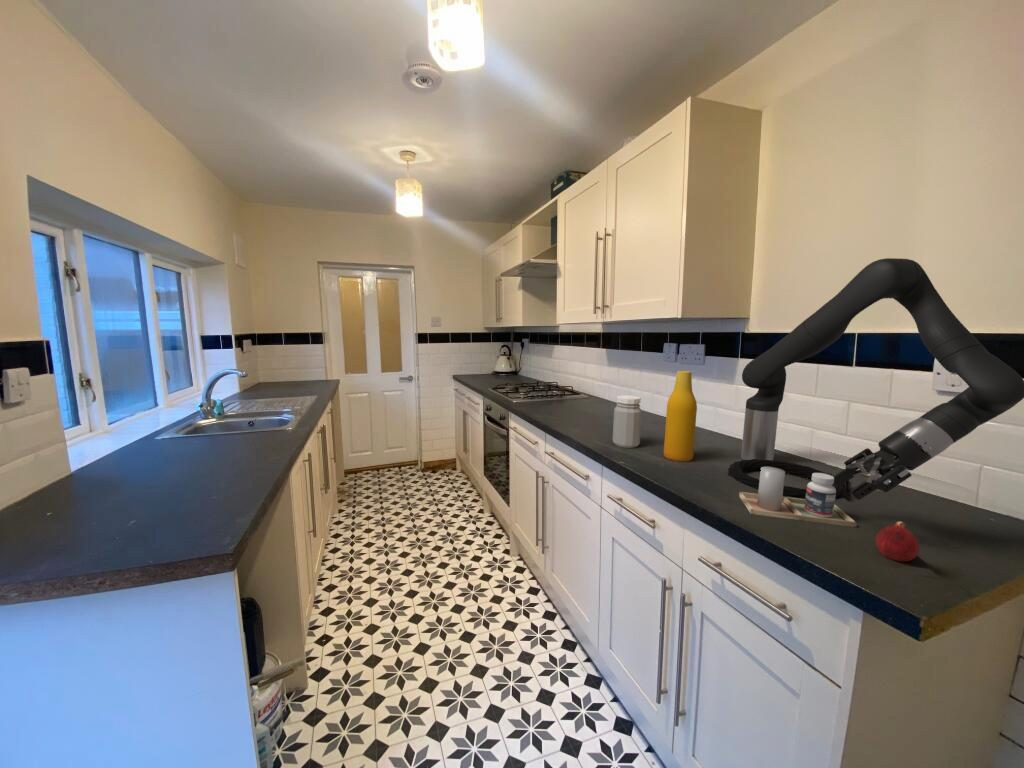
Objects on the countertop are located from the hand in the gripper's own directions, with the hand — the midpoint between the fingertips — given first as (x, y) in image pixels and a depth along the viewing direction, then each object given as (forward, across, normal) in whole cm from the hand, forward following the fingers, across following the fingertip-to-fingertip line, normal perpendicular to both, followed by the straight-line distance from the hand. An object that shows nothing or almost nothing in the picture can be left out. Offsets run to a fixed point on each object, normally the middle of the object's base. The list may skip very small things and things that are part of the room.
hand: (843, 488), depth 91 cm
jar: (+39, -48, -29) cm, 68 cm away
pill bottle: (+8, 0, +2) cm, 8 cm away
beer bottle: (+27, -38, -16) cm, 49 cm away
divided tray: (+12, 0, -1) cm, 12 cm away
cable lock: (+8, -22, +3) cm, 24 cm away
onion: (+4, +17, +7) cm, 19 cm away
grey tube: (+14, 0, -6) cm, 16 cm away
